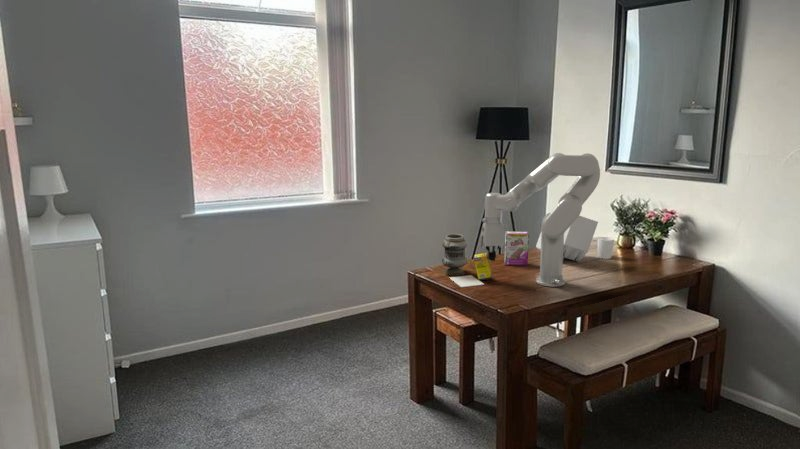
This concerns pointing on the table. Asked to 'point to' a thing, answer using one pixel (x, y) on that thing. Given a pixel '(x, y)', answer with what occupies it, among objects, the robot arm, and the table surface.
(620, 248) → the table surface
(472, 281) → the felt mat
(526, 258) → the candy bar box
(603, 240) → the white cup
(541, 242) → the robot arm
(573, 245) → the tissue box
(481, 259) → the supplement box
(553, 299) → the table surface
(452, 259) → the apothecary jar
